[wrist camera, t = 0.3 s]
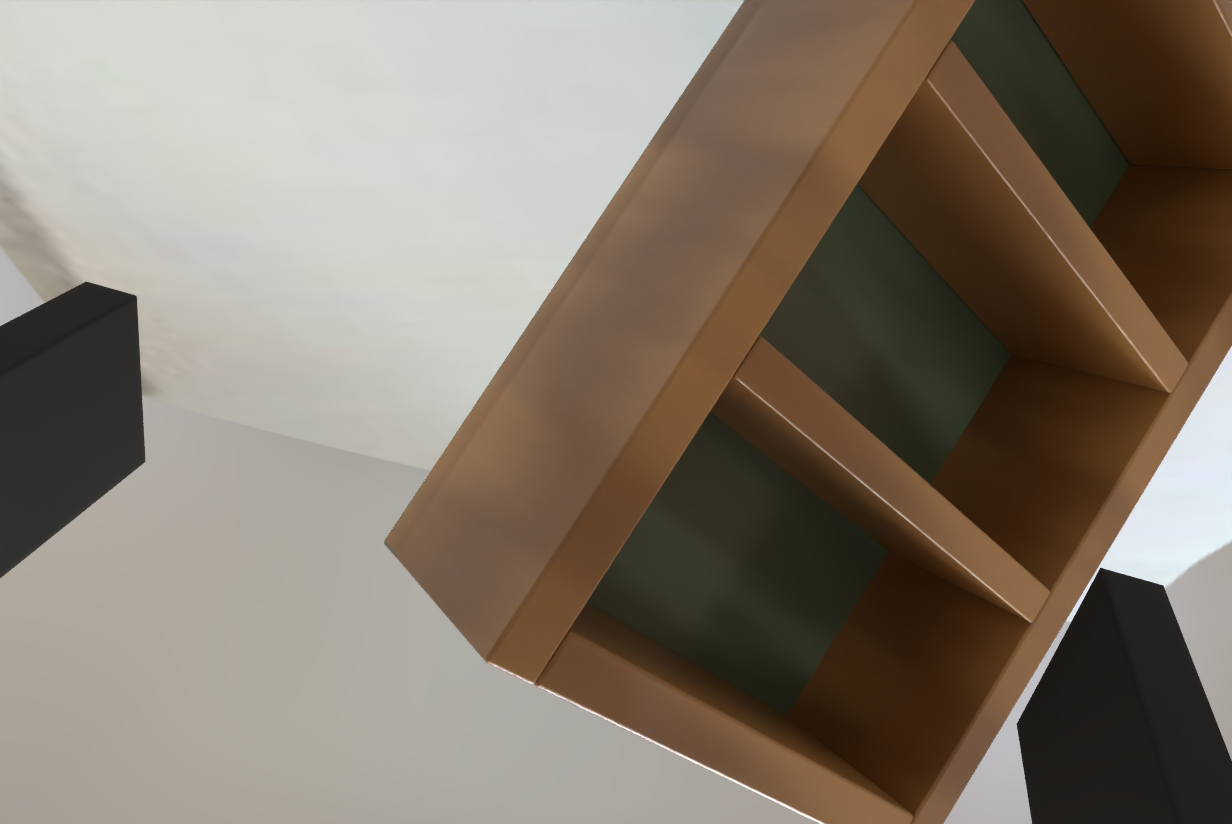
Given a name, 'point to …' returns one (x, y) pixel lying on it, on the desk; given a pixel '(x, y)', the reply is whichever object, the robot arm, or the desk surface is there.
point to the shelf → (852, 388)
